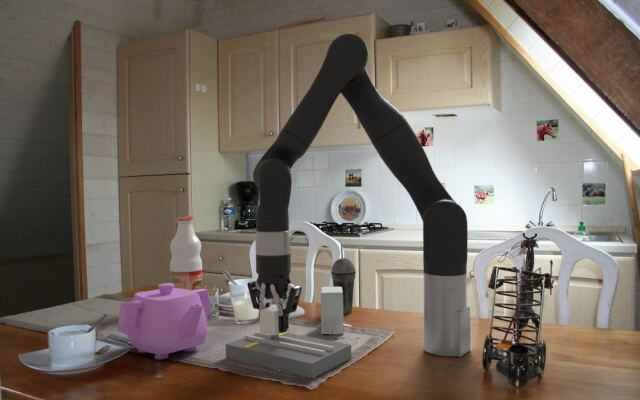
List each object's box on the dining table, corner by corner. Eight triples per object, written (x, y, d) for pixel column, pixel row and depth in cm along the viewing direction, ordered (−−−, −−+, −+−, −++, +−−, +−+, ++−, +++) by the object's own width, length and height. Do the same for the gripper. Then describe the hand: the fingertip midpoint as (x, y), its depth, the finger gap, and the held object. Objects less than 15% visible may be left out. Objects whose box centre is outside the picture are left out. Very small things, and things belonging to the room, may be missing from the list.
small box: (343, 335, 130) (343, 292, 129) (321, 335, 130) (320, 292, 129) (343, 326, 138) (342, 286, 137) (321, 326, 138) (320, 286, 137)
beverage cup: (360, 310, 155) (359, 242, 154) (351, 316, 148) (350, 245, 148) (337, 308, 158) (336, 241, 157) (327, 313, 151) (326, 244, 151)
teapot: (202, 362, 111) (201, 290, 111) (113, 365, 110) (112, 293, 109) (213, 336, 130) (212, 275, 130) (137, 339, 129) (136, 277, 128)
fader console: (351, 358, 112) (351, 341, 112) (312, 379, 100) (312, 359, 100) (268, 341, 125) (268, 325, 125) (225, 358, 113) (225, 340, 113)
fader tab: (289, 339, 115) (288, 307, 115) (274, 344, 111) (274, 311, 111) (275, 336, 118) (274, 305, 118) (260, 341, 114) (259, 309, 113)
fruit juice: (172, 306, 163) (170, 216, 162) (203, 305, 165) (201, 215, 164) (169, 314, 154) (167, 217, 153) (202, 312, 156) (201, 217, 155)
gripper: (310, 251, 113) (311, 331, 113) (259, 248, 121) (261, 322, 122) (288, 256, 107) (289, 340, 107) (236, 251, 115) (238, 329, 116)
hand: (274, 330), depth 115 cm, fingers closed on fader tab, 4 cm apart
